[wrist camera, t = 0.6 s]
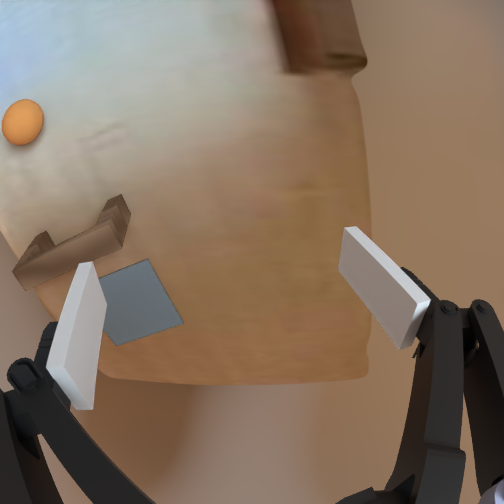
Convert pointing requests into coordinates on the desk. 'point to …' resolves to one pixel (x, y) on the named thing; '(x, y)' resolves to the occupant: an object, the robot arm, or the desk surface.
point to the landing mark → (136, 304)
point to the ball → (22, 122)
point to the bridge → (73, 247)
